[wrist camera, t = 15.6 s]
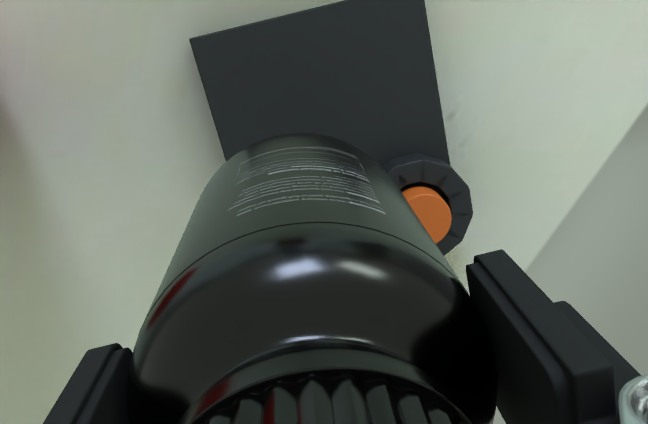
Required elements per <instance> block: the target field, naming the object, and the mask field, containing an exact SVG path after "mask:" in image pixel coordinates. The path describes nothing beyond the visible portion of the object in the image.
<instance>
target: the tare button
mask: <svg viewBox="0 0 648 424" xmlns="http://www.w3.org/2000/svg"><path fill="white" fill-rule="evenodd" d="M402 194H403V195H404V197H405V198H406V200H407V201H408V203H409V204H410V206H411V207H412V209H413V210H414V212H415V213H416V215H417V216H418V218H419V220H420V221H421V223H422V224H423V226H424V227H425V229H426V230H427V232H428V233H429V235H430V236H431V238H432V239H433V241H434V242H435V244H436V243H438V242H439V241H440V240H442V239H443V238H444V237H445V235H446V234H447V232H448V231H449V229H450V226H451V220H452V217H451V211H450V208H449V206H448V205H447V203H446V202H445V201H444V200H443V199H442V198H441V197H440V195H439V194H438V193H437V192H436V191H434V190H433V189H431V188H428V187H424V186H415V187H411V188H408V189H406V190H404V191H403V192H402Z"/></svg>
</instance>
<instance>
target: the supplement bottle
mask: <svg viewBox="0 0 648 424" xmlns="http://www.w3.org/2000/svg"><path fill="white" fill-rule="evenodd" d="M497 392H498V380H497V366H496V358H495V353H494V349H493V345H492V342H491V338H490V335H489V333H488V330H487V328H486V325H485V323H484V321H483V319H482V317H481V315H480V313H479V312H478V310H477V308H476V306H475V304H474V303H473V301H472V299H471V298H470V295H468V292H467V291H466V289H465V288H464V286H463V285H462V283H461V282H460V280H459V278H458V277H457V275H456V274H455V272H454V271H453V269H452V268H451V266H450V265H449V263H448V262H447V260H446V259H445V257H444V256H443V254H442V253H441V251H440V250H439V248H438V247H437V245H436V244H435V242H434V241H433V239H432V238H431V236H430V235H429V233H428V232H427V230H426V229H425V227H424V226H423V224H422V223H421V221H420V220H419V218H418V216H417V215H416V213H415V212H414V210H413V209H412V207H411V206H410V204H409V203H408V201H407V200H406V198H405V197H404V195H403V194H402V192H401V191H400V189H399V188H398V187H397V185H396V184H395V182H394V181H393V180H392V178H391V177H390V176H389V174H388V173H387V172H386V171H385V170H384V169H383V167H382V166H381V165H379V164H378V163H377V162H376V161H375V160H374V159H373V158H372V157H370V156H369V155H368V154H366V153H365V152H364V151H362V150H360V149H359V148H357V147H356V146H353V145H351V144H349V143H347V142H345V141H342V140H340V139H337V138H333V137H330V136H326V135H320V134H312V133H291V134H284V135H278V136H274V137H270V138H267V139H264V140H261V141H258V142H256V143H254V144H252V145H250V146H248V147H246V148H245V149H243V150H241V151H239V152H238V153H237V154H235V155H234V156H233V157H231V158H230V159H229V160H228V161H227V162H226V163H224V164H223V165H222V166H221V168H220V169H219V170H218V171H217V172H216V173H215V174H214V176H213V177H212V178H211V180H210V181H209V182H208V184H207V186H206V187H205V189H204V191H203V192H202V194H201V196H200V199H199V200H198V202H197V204H196V207H195V209H194V211H193V213H192V216H191V218H190V220H189V222H188V224H187V227H186V229H185V231H184V233H183V236H182V238H181V240H180V242H179V245H178V247H177V249H176V251H175V254H174V256H173V258H172V260H171V262H170V265H169V267H168V269H167V271H166V274H165V276H164V278H163V280H162V283H161V285H160V287H159V289H158V292H157V294H156V296H155V298H154V300H153V303H152V305H151V307H150V309H149V312H148V314H147V316H146V318H145V321H144V323H143V325H142V328H141V330H140V332H139V335H138V338H137V341H136V345H135V348H134V351H133V354H132V357H131V361H130V365H129V371H128V376H127V390H126V403H127V415H128V420H129V424H493V419H494V415H495V410H496V402H497Z"/></svg>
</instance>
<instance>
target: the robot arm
mask: <svg viewBox="0 0 648 424" xmlns="http://www.w3.org/2000/svg"><path fill="white" fill-rule="evenodd" d="M466 274H467V280H468V286H469V292H470V298H471V299H472V301H473V303H474V304H475V306H476V308H477V310H478V312H479V313H480V315H481V317H482V319H483V321H484V323H485V325H486V328H487V330H488V333H489V335H490V338H491V342H492V345H493V349H494V353H495V358H496V366H497V380H498V392H497V402H496V406H497V407H498V409H499V411H500V413H501V415H502V417H503V419H504V420H505V422H506V424H648V374H647V375H642V376H641V375H640V374H639V373H638V372H637V371H636V370H635V369H634V368H633V367H632V366H631V365H630V364H629V363H628V362H627V361H626V360H625V359H624V358H623V357H622V356H621V355H620V354H619V353H618V352H617V351H616V350H615V349H614V348H613V347H612V346H611V345H610V344H609V343H608V342H607V341H606V340H605V339H604V338H603V337H602V336H601V335H600V334H599V333H598V332H597V331H596V330H595V329H594V328H593V327H592V326H591V325H590V324H589V323H588V322H587V321H586V320H585V319H584V318H583V317H582V316H581V315H580V314H579V313H578V312H577V311H576V310H575V309H574V308H573V307H572V306H571V305H570V304H568V303H567V302H565V301H560V302H555V303H553V302H552V301H551V300H550V299H549V298H548V297H547V296H546V294H545V293H544V292H543V291H542V290H541V289H540V288H539V287H538V286H537V285H536V284H535V283H534V282H533V281H532V280H531V279H530V278H529V277H528V276H527V274H526V273H525V272H524V271H523V270H522V269H521V268H520V267H519V266H518V265H517V264H516V263H515V262H514V261H513V260H512V259H511V258H510V257H509V256H508V254H507V253H506V252H505V251H503V250H497V251H493V252H489V253H485V254H481V255H476V256H474V263H473V264H469V265H466ZM132 354H133V353H132V351H131V350H130V349H129V348H122V347H121V345H120V344H118V343H115V344H110V345H106V346H102V347H98V348H94V349H90V350H88V351H87V352H86V353H85V355H84V357H83V358H82V360H81V362H80V363H79V365H78V367H77V368H76V370H75V372H74V373H73V375H72V377H71V378H70V380H69V381H68V383H67V385H66V386H65V388H64V390H63V391H62V393H61V395H60V396H59V398H58V400H57V401H56V403H55V405H54V406H53V408H52V409H51V411H50V413H49V414H48V416H47V418H46V419H45V421H44V423H43V424H129V420H128V415H127V403H126V390H127V376H128V371H129V365H130V361H131V357H132Z"/></svg>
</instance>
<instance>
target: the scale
mask: <svg viewBox="0 0 648 424" xmlns="http://www.w3.org/2000/svg"><path fill="white" fill-rule="evenodd" d="M190 44H191V47H192V50H193V54H194V57H195V60H196V63H197V67H198V70H199V73H200V77H201V80H202V83H203V87H204V90H205V93H206V96H207V100H208V103H209V106H210V110H211V113H212V116H213V120H214V123H215V126H216V130H217V133H218V136H219V139H220V143H221V146H222V149H223V153H224V156H225V159H226V162H227V161H228V160H229V159H230V158H231V157H233V156H234V155H235V154H237V153H238V152H239V151H241V150H243V149H245V148H246V147H248V146H250V145H252V144H254V143H256V142H258V141H261V140H264V139H267V138H270V137H274V136H278V135H284V134H291V133H312V134H320V135H326V136H330V137H333V138H337V139H340V140H342V141H345V142H347V143H349V144H351V145H353V146H356V147H357V148H359V149H360V150H362V151H364V152H365V153H366V154H368V155H369V156H370V157H372V158H373V159H374V160H375V161H376V162H377V163H378V164H379V165H381V166H382V167H383V169H384V170H385V171H386V172H387V173H388V174H389V176H390V177H391V178H392V180H393V181H394V182H395V184H396V185H397V187H398V188H399V189H400V191H401V192H403V191H404V190H406V189H408V188H411V187H415V186H424V187H428V188H431V189H433V190H434V191H436V192H437V193H438V194H439V195H440V197H441V198H442V199H443V200H444V201H445V202H446V203H447V205H448V206H449V208H450V211H451V217H452V220H451V226H450V229H449V231H448V232H447V234H446V235H445V237H444V238H443V239H442V240H440V241H439V242H438V243H436V245H437V247H438V248H439V250H440V251H441V253H442V254H443V256H444V255H446V254H447V253H448V252H449V251H450V250H452V249H453V248H454V247H455V246H456V245H458V244H459V243H460V242H461V241H462V239H463V238H464V235H465V233H466V230H467V228H468V225H469V223H470V221H471V218H472V216H473V210H472V204H471V197H470V190H469V187H468V186H467V184H466V183H465V182H464V181H463V180H462V179H461V178H460V176H459V175H458V174H457V173H456V172H455V171H454V170H453V169H452V168H451V167H450V162H449V155H448V149H447V143H446V136H445V130H444V123H443V117H442V111H441V104H440V98H439V92H438V85H437V79H436V72H435V66H434V60H433V53H432V47H431V40H430V34H429V28H428V21H427V15H426V8H425V2H424V0H344V1H340V2H336V3H332V4H328V5H324V6H320V7H316V8H312V9H308V10H304V11H300V12H296V13H292V14H288V15H284V16H280V17H276V18H272V19H268V20H263V21H259V22H255V23H251V24H247V25H243V26H239V27H235V28H231V29H227V30H223V31H219V32H215V33H211V34H207V35H203V36H199V37H195V38H191V39H190Z"/></svg>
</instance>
